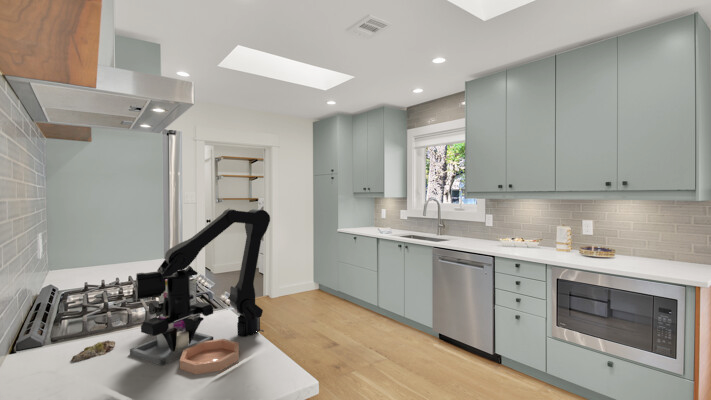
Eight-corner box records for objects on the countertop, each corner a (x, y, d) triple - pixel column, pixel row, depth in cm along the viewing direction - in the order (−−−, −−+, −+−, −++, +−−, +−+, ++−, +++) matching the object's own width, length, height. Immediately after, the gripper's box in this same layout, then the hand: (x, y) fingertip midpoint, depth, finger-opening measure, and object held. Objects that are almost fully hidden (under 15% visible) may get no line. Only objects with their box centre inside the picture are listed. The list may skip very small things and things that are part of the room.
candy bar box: (158, 328, 117) (156, 279, 117) (168, 323, 122) (167, 275, 122) (188, 331, 115) (187, 280, 115) (198, 325, 120) (196, 277, 120)
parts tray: (182, 335, 112) (182, 328, 111) (213, 343, 105) (213, 336, 105) (130, 357, 97) (129, 349, 97) (162, 368, 91) (161, 360, 91)
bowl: (214, 346, 103) (214, 336, 103) (250, 356, 97) (249, 345, 97) (169, 368, 91) (169, 356, 91) (207, 381, 85) (206, 368, 84)
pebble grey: (168, 341, 106) (167, 326, 106) (178, 343, 104) (177, 328, 103) (154, 346, 102) (153, 331, 102) (163, 349, 100) (163, 334, 100)
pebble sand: (182, 345, 103) (182, 330, 103) (192, 348, 101) (192, 332, 100) (168, 351, 99) (167, 335, 99) (178, 354, 97) (178, 338, 97)
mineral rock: (102, 338, 105) (119, 335, 102) (106, 352, 105) (123, 349, 102) (61, 355, 95) (78, 352, 92) (65, 371, 95) (82, 368, 92)
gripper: (189, 281, 111) (190, 330, 112) (127, 298, 95) (129, 355, 95) (214, 285, 106) (215, 337, 106) (153, 303, 90) (155, 364, 90)
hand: (180, 347), depth 100 cm, fingers closed on pebble sand, 4 cm apart
